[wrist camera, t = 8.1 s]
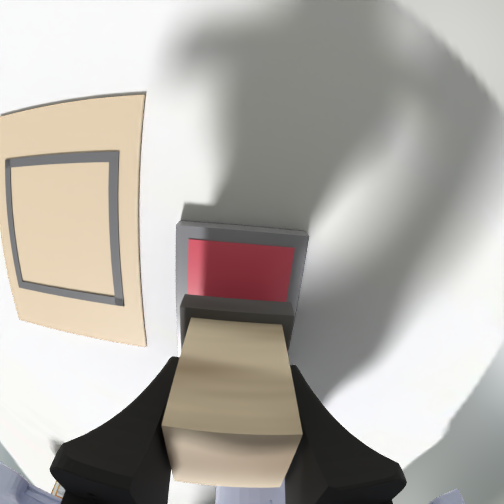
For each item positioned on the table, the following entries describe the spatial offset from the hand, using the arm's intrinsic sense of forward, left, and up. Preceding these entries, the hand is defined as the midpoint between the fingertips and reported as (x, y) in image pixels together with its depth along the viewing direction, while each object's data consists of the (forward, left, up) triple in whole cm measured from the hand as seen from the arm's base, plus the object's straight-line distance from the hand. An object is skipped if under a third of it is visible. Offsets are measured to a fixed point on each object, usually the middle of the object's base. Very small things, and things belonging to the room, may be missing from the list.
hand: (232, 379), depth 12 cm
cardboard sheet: (+4, +12, -6) cm, 14 cm away
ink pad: (0, 0, -7) cm, 7 cm away
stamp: (0, 0, -3) cm, 3 cm away
